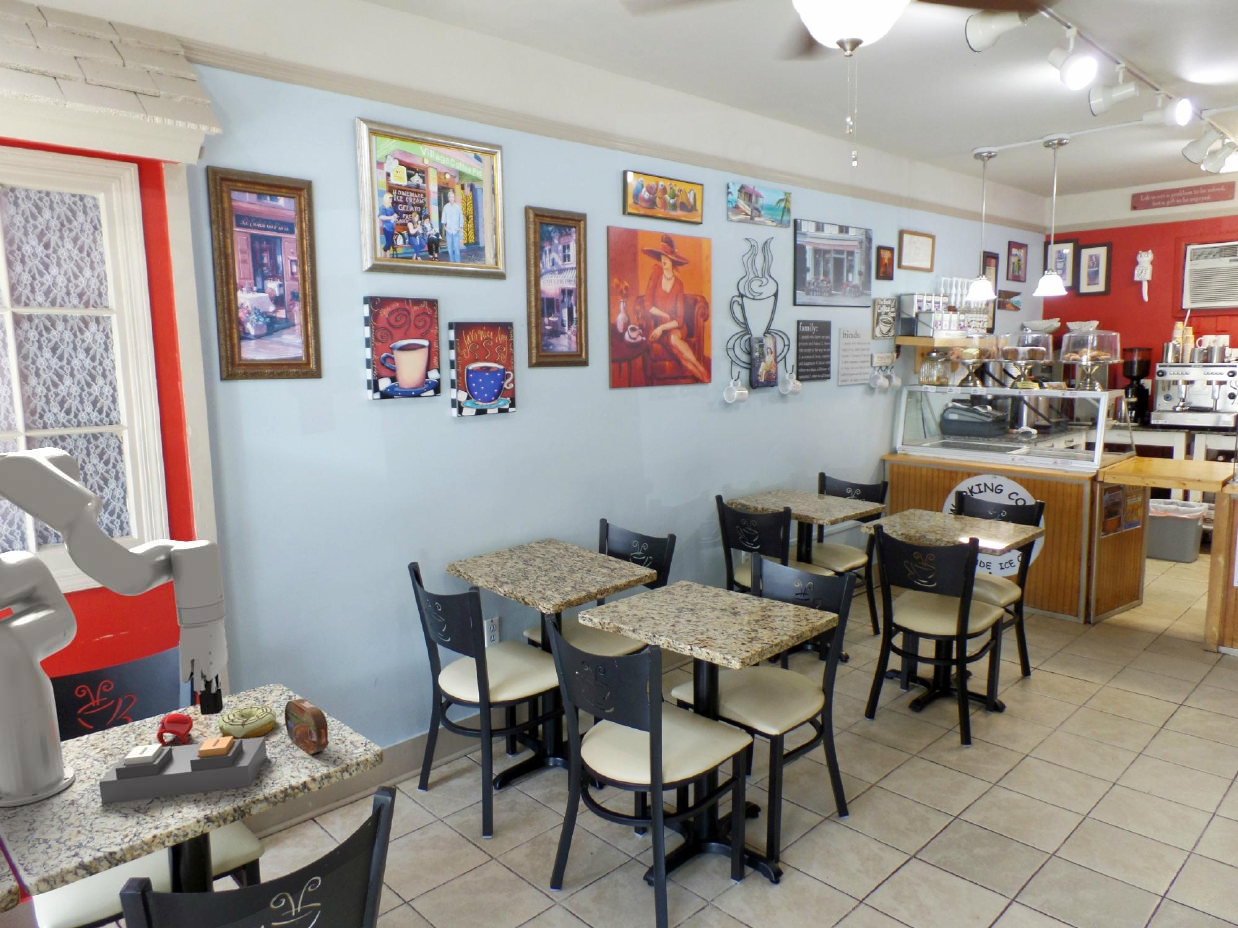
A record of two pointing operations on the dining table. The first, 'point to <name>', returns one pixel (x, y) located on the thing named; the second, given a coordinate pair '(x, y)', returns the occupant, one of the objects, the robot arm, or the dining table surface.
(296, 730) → the tin
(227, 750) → the orange button
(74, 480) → the robot arm
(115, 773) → the grey button panel
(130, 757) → the cream button
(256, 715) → the decorated donut
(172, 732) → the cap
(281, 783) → the dining table surface
